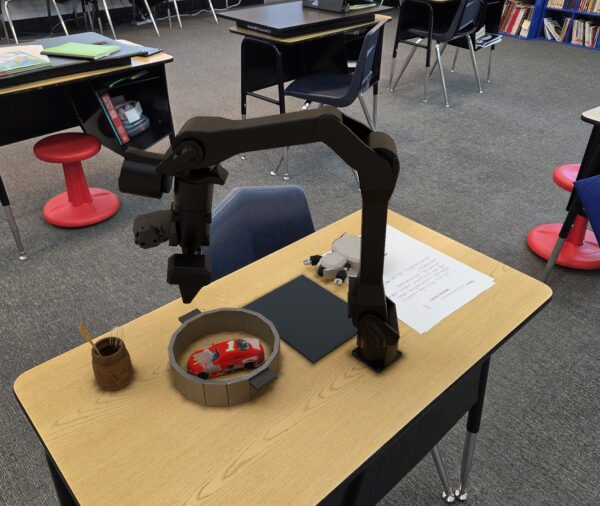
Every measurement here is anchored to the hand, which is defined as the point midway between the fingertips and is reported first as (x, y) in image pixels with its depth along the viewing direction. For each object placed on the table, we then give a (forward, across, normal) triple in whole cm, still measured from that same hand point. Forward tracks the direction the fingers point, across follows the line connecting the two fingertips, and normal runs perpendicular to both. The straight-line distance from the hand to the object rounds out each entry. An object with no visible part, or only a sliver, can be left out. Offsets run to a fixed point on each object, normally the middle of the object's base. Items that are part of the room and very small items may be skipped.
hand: (187, 284), depth 89 cm
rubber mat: (+10, -5, +23) cm, 26 cm away
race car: (+13, +6, +7) cm, 16 cm away
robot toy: (+9, -19, +33) cm, 39 cm away
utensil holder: (+16, +6, -11) cm, 20 cm away
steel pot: (+12, +6, +7) cm, 16 cm away
